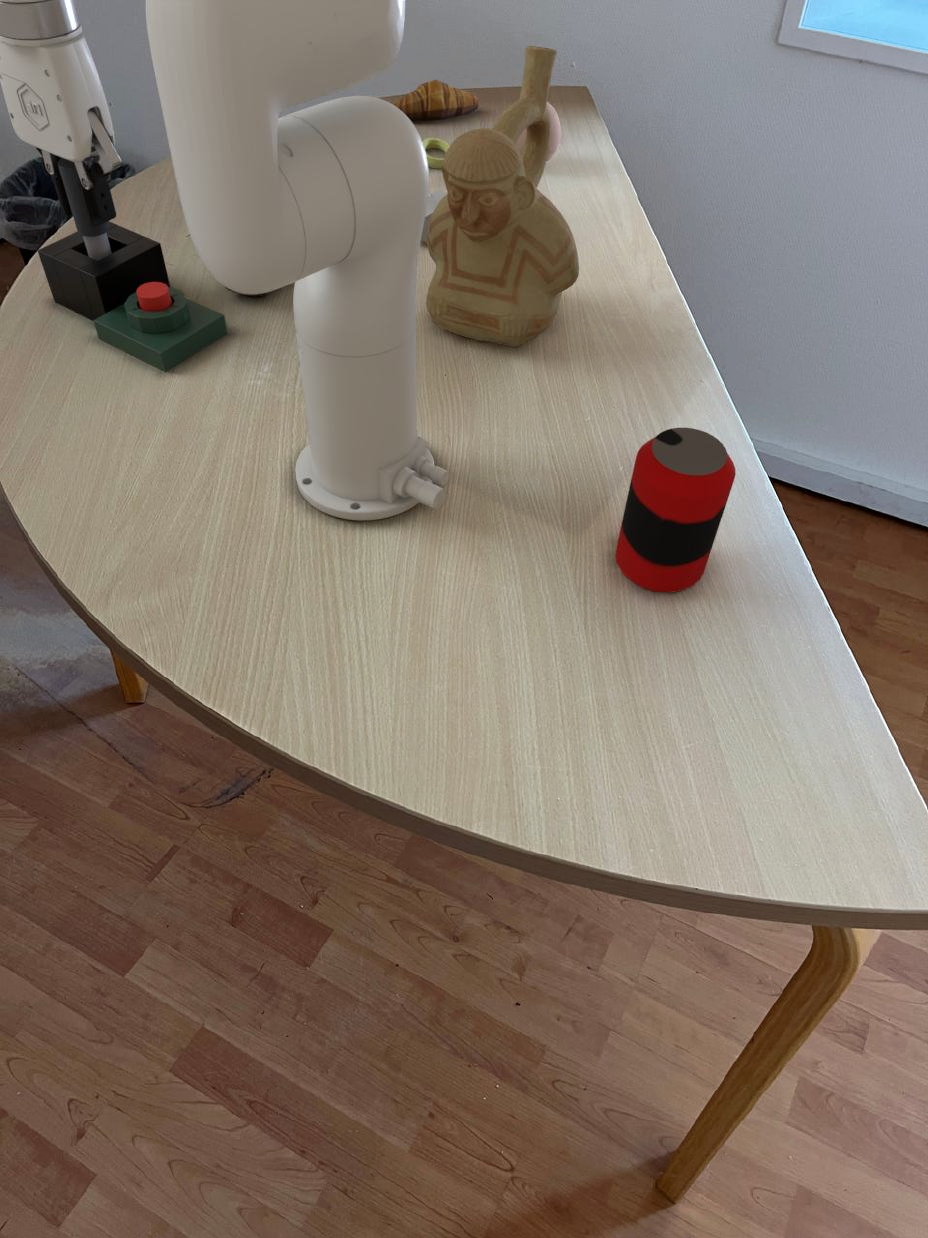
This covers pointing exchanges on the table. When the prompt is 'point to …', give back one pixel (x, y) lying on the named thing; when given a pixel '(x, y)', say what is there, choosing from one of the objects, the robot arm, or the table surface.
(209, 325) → the station
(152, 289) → the power button
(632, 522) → the soda can
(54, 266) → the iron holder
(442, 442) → the table surface
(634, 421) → the table surface
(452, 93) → the croissant
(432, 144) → the yellow-green curved piece
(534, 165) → the ceramic vessel
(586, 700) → the table surface
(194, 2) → the robot arm
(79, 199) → the soldering iron
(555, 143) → the egg
